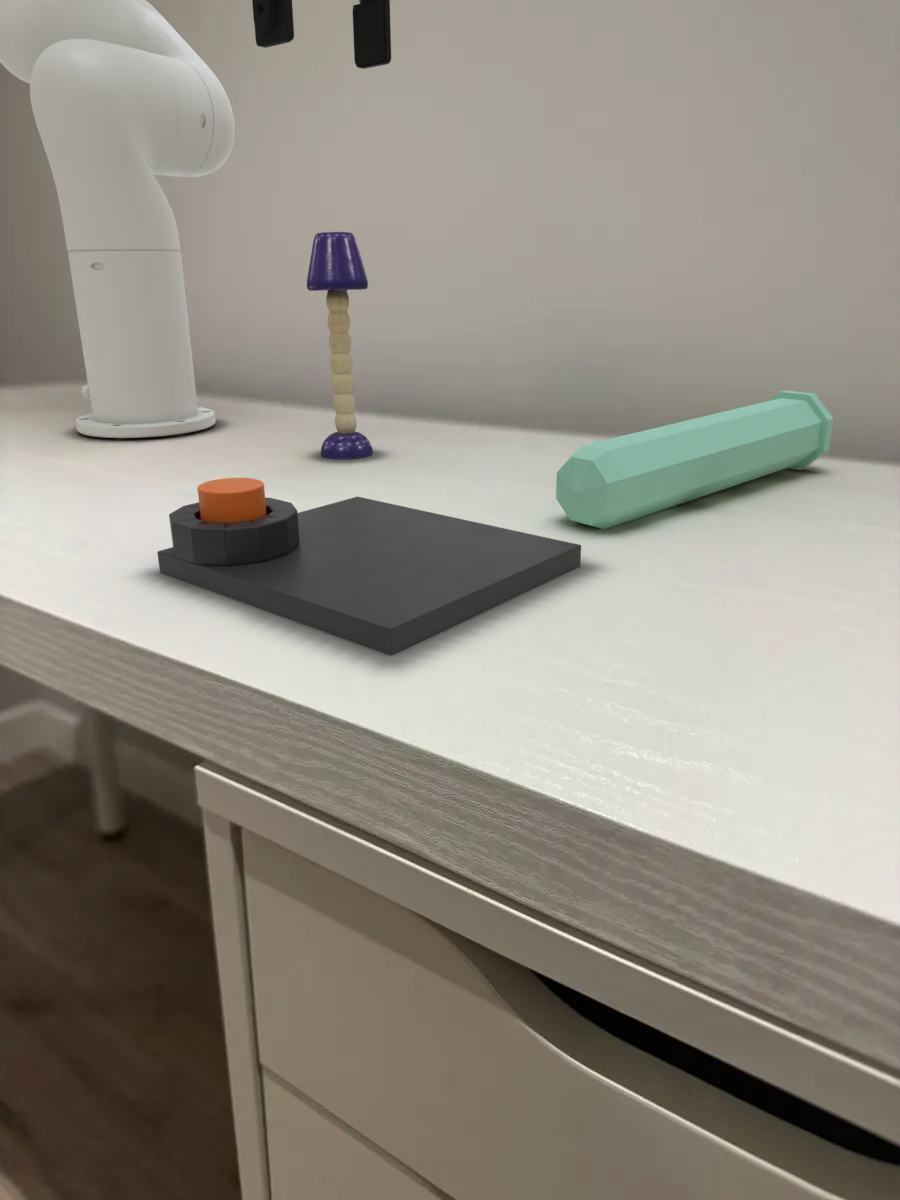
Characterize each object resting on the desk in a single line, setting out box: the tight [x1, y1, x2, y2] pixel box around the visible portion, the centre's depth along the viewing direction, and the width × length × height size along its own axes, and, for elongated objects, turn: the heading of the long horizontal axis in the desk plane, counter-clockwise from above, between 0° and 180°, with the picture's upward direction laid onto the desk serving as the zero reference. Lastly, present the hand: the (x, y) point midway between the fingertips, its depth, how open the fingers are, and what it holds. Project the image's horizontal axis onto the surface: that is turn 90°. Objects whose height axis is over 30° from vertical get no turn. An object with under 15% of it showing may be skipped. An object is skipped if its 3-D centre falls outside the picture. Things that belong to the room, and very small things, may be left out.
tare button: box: [196, 477, 267, 523], centre depth 44 cm, size 3×3×2 cm
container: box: [555, 390, 834, 530], centre depth 57 cm, size 6×6×25 cm
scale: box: [157, 496, 582, 656], centre depth 44 cm, size 16×14×3 cm
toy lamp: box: [306, 231, 374, 460], centre depth 69 cm, size 5×5×17 cm
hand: (326, 54), depth 62 cm, fingers open, 8 cm apart
